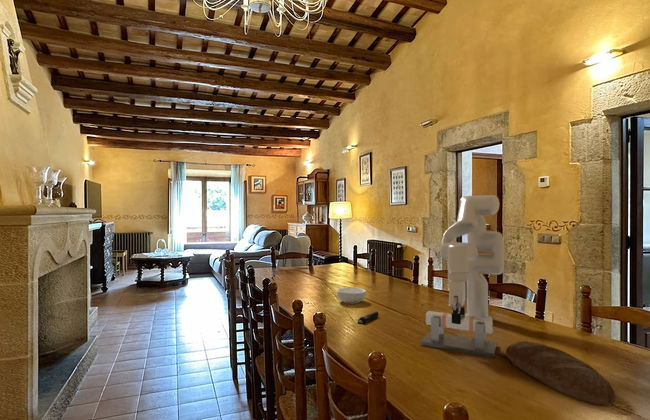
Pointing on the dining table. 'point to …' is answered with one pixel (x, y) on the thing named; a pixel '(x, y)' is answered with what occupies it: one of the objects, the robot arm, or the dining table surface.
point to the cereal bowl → (351, 295)
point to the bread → (561, 372)
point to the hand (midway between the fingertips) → (458, 320)
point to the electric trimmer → (367, 318)
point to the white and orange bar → (466, 321)
